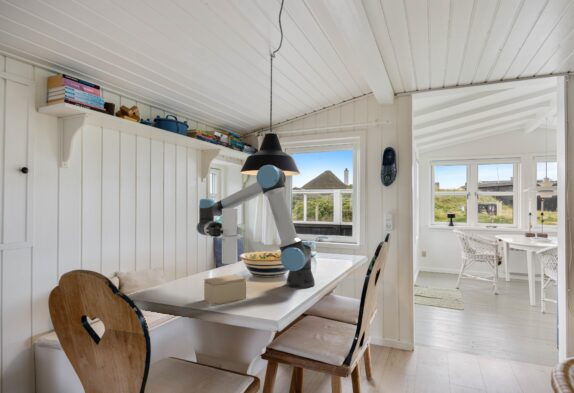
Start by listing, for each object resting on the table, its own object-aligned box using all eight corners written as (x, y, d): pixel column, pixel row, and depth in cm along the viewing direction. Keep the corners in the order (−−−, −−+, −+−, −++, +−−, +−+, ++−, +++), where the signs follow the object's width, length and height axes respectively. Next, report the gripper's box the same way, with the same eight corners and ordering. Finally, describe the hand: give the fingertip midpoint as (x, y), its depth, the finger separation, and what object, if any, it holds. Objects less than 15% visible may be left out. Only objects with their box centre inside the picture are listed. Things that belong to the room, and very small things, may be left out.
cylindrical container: (233, 264, 147) (233, 208, 148) (218, 263, 149) (219, 208, 150) (239, 261, 154) (239, 208, 154) (226, 260, 156) (226, 208, 156)
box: (204, 299, 148) (204, 282, 148) (235, 293, 157) (235, 277, 158) (213, 304, 140) (213, 286, 140) (246, 298, 149) (246, 280, 150)
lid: (204, 281, 148) (204, 278, 148) (234, 276, 158) (234, 274, 158) (213, 285, 140) (213, 283, 140) (245, 280, 150) (245, 278, 150)
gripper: (231, 235, 172) (253, 239, 154) (194, 237, 160) (214, 241, 142) (231, 221, 172) (253, 223, 154) (195, 222, 160) (214, 224, 142)
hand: (234, 232), depth 148 cm, fingers closed on cylindrical container, 7 cm apart
